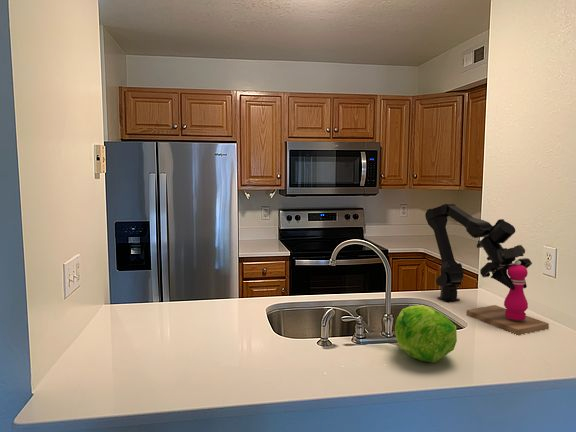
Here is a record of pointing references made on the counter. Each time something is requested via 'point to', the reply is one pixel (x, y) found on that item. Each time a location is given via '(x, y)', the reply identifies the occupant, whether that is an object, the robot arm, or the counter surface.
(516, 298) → the pepper mill
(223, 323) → the counter surface
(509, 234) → the robot arm
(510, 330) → the walnut board
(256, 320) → the counter surface
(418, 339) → the lettuce
